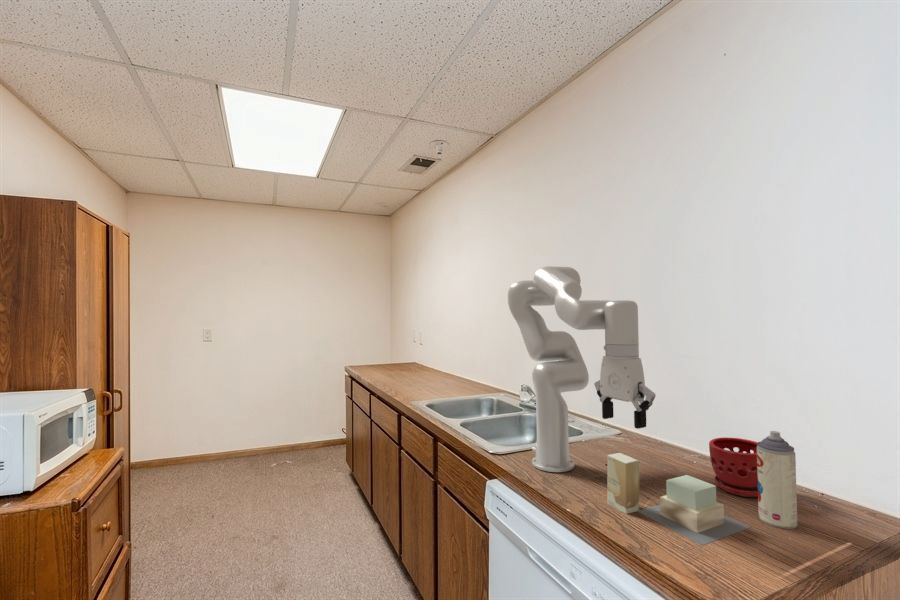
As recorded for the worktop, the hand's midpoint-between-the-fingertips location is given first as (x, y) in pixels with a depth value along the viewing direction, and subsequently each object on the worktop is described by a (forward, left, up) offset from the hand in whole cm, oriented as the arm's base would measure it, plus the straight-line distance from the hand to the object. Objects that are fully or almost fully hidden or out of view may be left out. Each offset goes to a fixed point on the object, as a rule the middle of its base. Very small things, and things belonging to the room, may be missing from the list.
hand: (623, 422), depth 102 cm
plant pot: (+6, +35, -21) cm, 41 cm away
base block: (+11, +9, -20) cm, 24 cm away
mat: (+11, +9, -20) cm, 25 cm away
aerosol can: (+20, +25, -21) cm, 38 cm away
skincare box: (0, 0, -21) cm, 21 cm away
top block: (+11, +9, -16) cm, 21 cm away
